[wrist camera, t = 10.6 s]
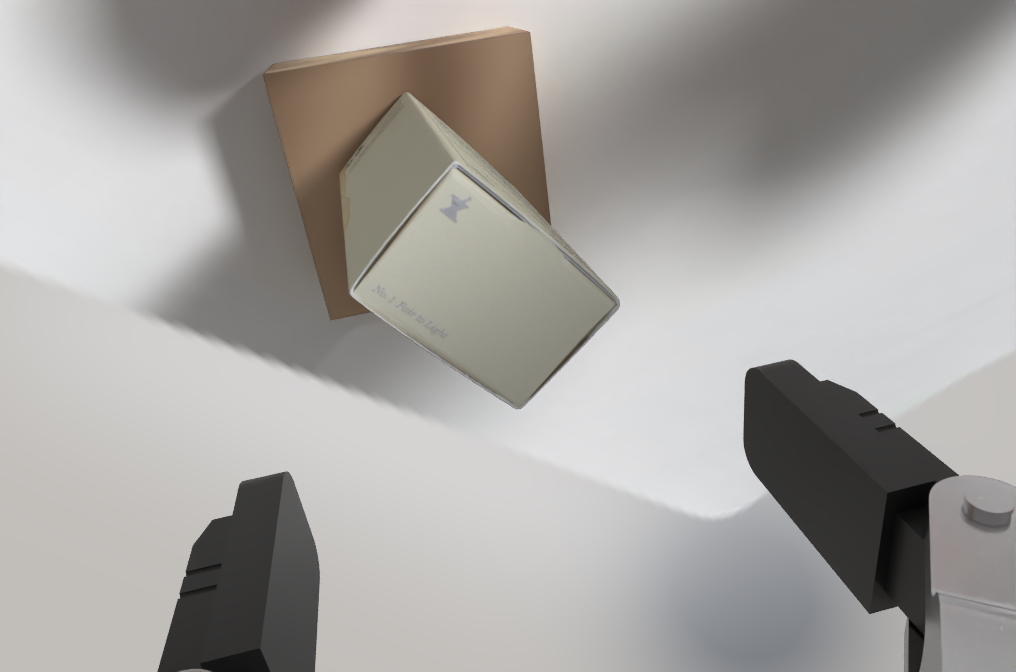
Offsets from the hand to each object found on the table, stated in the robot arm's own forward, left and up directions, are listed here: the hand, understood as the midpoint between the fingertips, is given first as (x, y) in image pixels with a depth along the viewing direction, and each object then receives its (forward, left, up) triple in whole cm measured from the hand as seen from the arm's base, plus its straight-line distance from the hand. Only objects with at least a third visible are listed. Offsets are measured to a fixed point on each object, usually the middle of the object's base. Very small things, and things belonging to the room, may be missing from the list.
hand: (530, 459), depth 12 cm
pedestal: (0, 0, -23) cm, 23 cm away
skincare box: (0, 0, -19) cm, 19 cm away
